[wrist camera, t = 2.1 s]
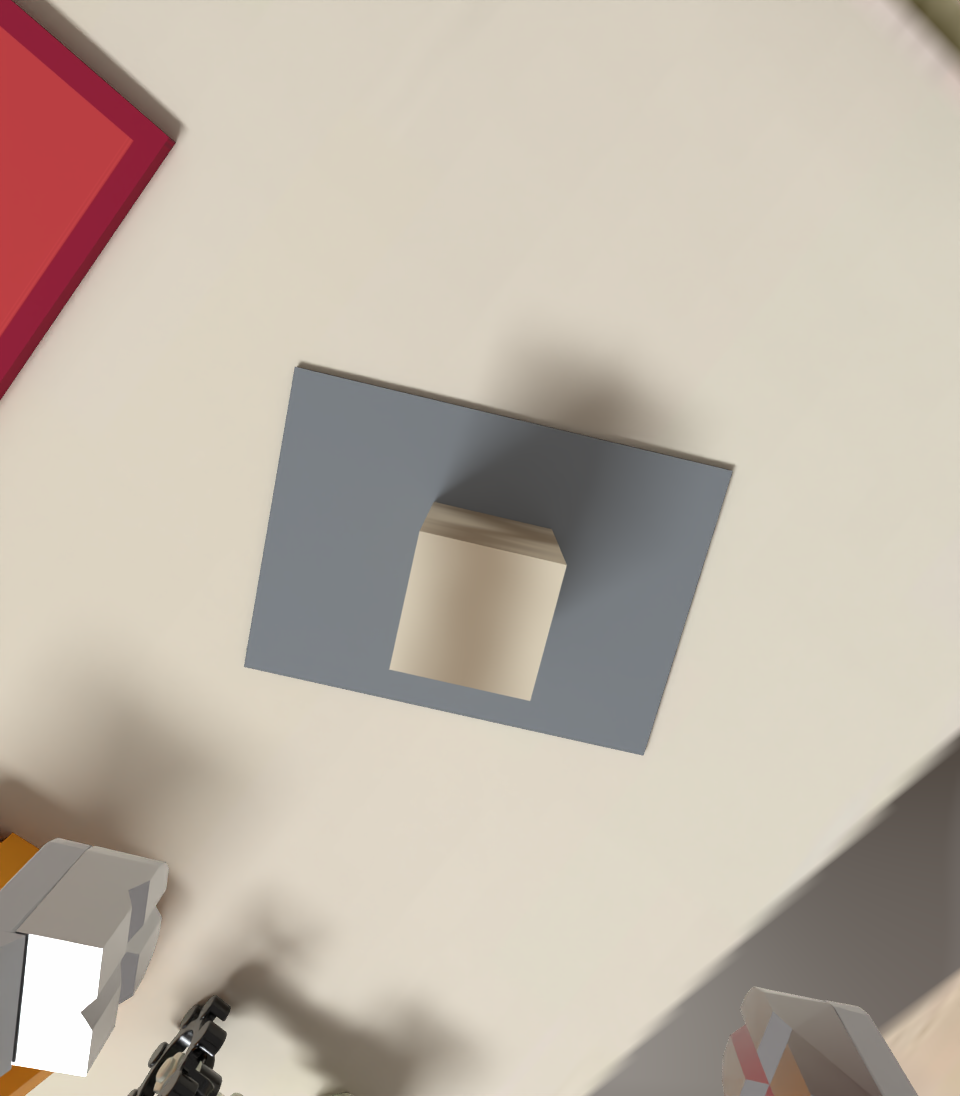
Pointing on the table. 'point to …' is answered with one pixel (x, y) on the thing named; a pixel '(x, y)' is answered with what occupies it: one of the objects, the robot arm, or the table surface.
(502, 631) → the maple block
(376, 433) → the grey mat
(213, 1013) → the valve
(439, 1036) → the table surface
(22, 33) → the red board with handle
